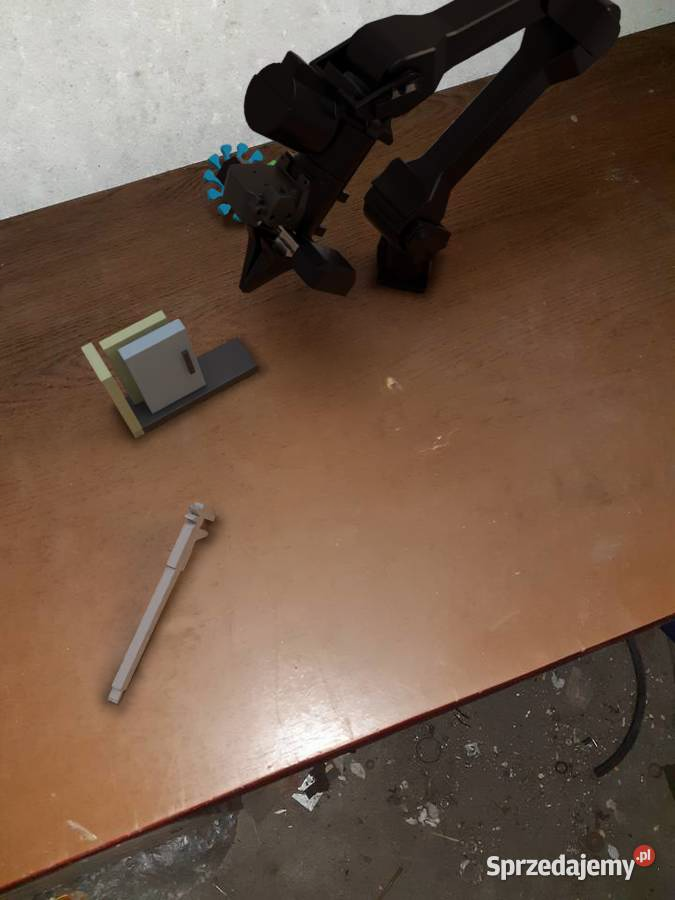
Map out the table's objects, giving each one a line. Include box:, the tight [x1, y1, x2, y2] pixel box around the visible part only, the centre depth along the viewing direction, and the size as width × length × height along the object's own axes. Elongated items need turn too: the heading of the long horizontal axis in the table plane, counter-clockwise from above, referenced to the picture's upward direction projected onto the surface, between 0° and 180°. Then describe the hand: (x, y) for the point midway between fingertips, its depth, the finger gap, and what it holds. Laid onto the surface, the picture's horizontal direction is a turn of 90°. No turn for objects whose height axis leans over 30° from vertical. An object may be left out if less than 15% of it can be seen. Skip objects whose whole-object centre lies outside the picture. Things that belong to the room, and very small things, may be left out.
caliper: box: [107, 501, 216, 705], centre depth 67 cm, size 20×1×6 cm, turn 157°
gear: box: [202, 142, 278, 223], centre depth 94 cm, size 11×6×10 cm
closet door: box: [118, 318, 206, 414], centre depth 75 cm, size 7×2×11 cm, turn 124°
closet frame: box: [80, 309, 260, 439], centre depth 76 cm, size 16×5×12 cm, turn 124°
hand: (243, 290), depth 74 cm, fingers closed
